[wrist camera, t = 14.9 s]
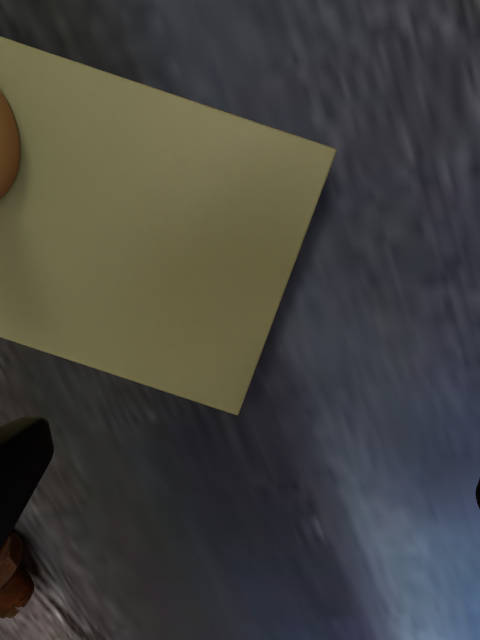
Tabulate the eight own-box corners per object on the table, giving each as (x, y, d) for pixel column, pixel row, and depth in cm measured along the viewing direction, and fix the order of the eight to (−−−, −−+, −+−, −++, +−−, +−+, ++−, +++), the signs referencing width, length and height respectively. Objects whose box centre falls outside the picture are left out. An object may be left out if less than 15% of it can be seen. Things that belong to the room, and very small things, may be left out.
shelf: (325, 158, 17) (337, 149, 13) (244, 379, 21) (237, 416, 18) (-68, 27, 17) (-162, -18, 13) (-63, 277, 21) (-131, 294, 18)
